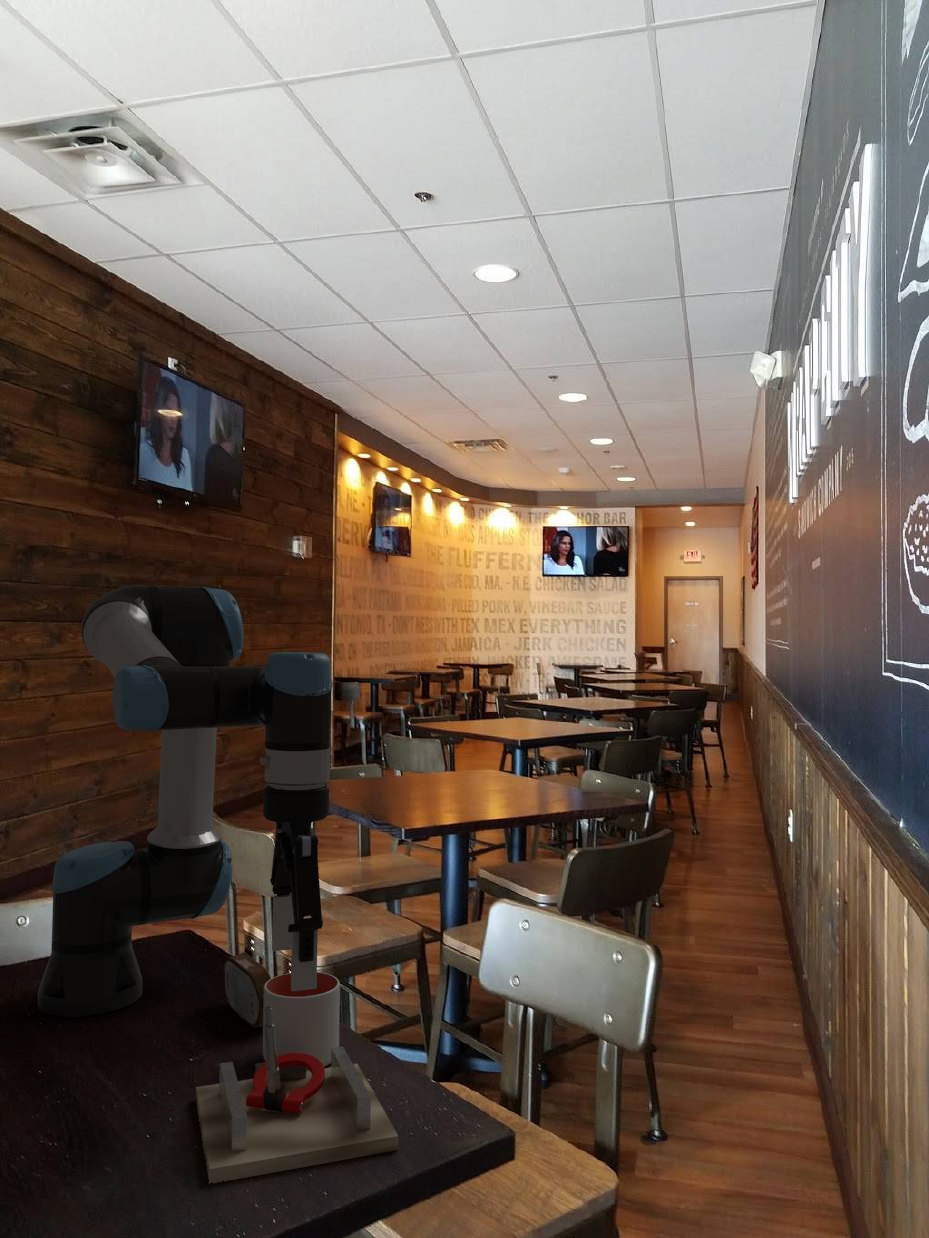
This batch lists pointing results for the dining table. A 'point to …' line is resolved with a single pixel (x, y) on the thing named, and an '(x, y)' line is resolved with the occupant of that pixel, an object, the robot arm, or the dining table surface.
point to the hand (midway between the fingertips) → (293, 968)
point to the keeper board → (290, 1132)
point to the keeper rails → (341, 1074)
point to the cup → (304, 1016)
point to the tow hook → (273, 1091)
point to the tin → (246, 987)
